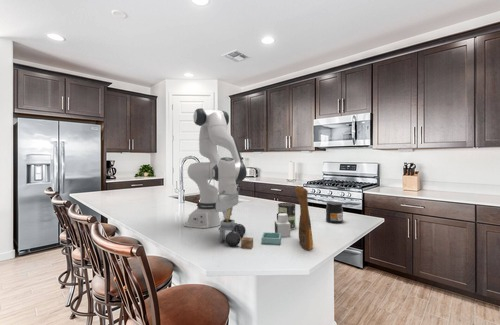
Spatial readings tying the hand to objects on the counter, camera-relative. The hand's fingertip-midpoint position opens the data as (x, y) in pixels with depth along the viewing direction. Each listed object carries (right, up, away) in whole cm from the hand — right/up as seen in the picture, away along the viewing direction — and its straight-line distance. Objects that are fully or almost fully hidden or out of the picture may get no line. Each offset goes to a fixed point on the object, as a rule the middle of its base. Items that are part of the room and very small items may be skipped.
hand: (227, 216), depth 127 cm
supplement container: (+66, -11, +35) cm, 75 cm away
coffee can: (+33, -12, +22) cm, 41 cm away
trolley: (+2, -12, -1) cm, 12 cm away
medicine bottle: (+29, -12, +9) cm, 32 cm away
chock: (+10, -13, -9) cm, 18 cm away
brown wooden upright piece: (+38, -12, -6) cm, 40 cm away
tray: (+22, -12, -1) cm, 25 cm away
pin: (0, -4, 0) cm, 4 cm away
